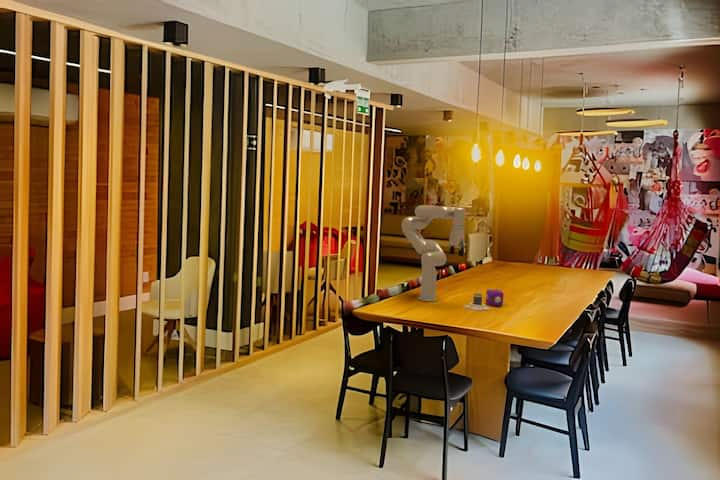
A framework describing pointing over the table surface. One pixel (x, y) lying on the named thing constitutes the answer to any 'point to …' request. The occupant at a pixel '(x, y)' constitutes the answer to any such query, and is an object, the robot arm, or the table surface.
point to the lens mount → (477, 307)
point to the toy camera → (494, 297)
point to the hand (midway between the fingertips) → (456, 255)
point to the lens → (477, 299)
